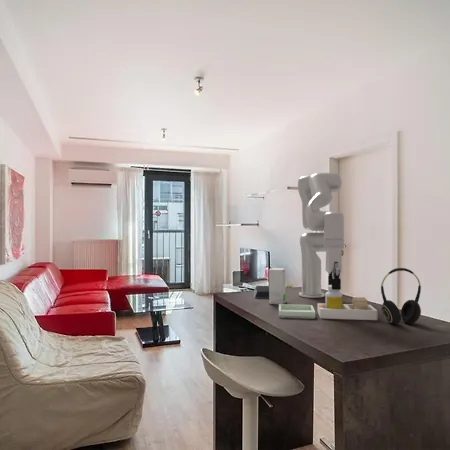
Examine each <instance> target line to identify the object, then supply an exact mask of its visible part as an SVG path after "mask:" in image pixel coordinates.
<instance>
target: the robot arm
mask: <svg viewBox="0 0 450 450" xmlns="http://www.w3.org/2000/svg"><path fill="white" fill-rule="evenodd" d="M341 188H342V179H341V176H340V175H339V174H338V172H337V173H336V172H316V173H313V174H309V175H303V176H301V177H300V176H299V178H298V180H297V189H298V193H299V196H300V199H301V206H302V207H301V210H302V211H301V213H302V214H301V215H302V217H301V218H302V226H303V228H304V229H305V230H308V231H309V230H310V231H312V232H305V233H302V234H301V235H300V238H299V245H300V252H301V291H299V292H298V296H299V297H303V298H309V299H317V298H325V294H326V293H324V292H322V260H321V257H320V256H319V255H318V254H317V253H318V252H319V253H321V252H325V271H326V273H327V274H328V277H327V281H328V282H327V286H328V285H332V289H333V290H339V291H340V290H341V289H342V286H341V285H342V283H341V281H342V280H341V273H342V267H343V266H342V262H343V260H342V259H343V258H342V249H344V248H345V223H344V222H345V217H344V216H345V215H344V213H342V212H340V211H329V210H321V209H322V208H324V207H326V206H328V205H329V204H330V203H332V200H333V193H336V192H339V191H340V189H341Z"/></svg>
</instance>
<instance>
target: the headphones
mask: <svg viewBox="0 0 450 450" xmlns="http://www.w3.org/2000/svg"><path fill="white" fill-rule="evenodd" d="M399 271H400V272H407V273H409V274H412V275H413V276H414V277H415V278H416V279H417V283H418V287H417V288H418V289H417V292H416V296H415V299H408V300H406V301H405V302H404V303H403V305H402V307H401V309H399V308H398V306H397V304H396V303H395V302H393V301H392V300H388V299H387V297H386V295H385V290H384V282H385V281H386V279H387V277H388V276H389V275H391V274H393V273H396V272H399ZM421 290H422V284H421V281H420V279H419V278H418V276H417V275H416V274H415V273H414V272H413V270H410V269H409V268H405V267H395V268H393V269H391V270H390V271H389V272H388V273H387V274H386V275H385V276H384V277H383V279H382V282H381V285H380V291H381V292H380V293H381V297H382V301H383V303H382V305H381V312H382V315H383V317H384V318H385V319H386V321H387V322H388V323H390V324H392V325H399V324H400V323H401V320H402V321H403V322H404V323H406V324H408V325H414V324H415V323H416V322H417V321H419V319H420V318H421V314H422V309H421V306H420V304H419V302H420V301H419V300H420V297H421Z"/></svg>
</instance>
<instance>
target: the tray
mask: <svg viewBox="0 0 450 450" xmlns="http://www.w3.org/2000/svg"><path fill="white" fill-rule="evenodd" d="M278 318H279V319H281V318H282V319H309V320H310V319H311V320H313V319H314V320H316V311H315V308H314V306H313V305H312V304H293V303H292V304H290V303H287V304H286V303H284V304H279V305H278Z"/></svg>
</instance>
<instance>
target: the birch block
mask: <svg viewBox="0 0 450 450" xmlns="http://www.w3.org/2000/svg"><path fill="white" fill-rule="evenodd" d="M352 304H353V309H357V310H367V305H368V299H367V298H366V297H364V296H363V297H360V296H357V297H356V296H355V297H353V296H352Z"/></svg>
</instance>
